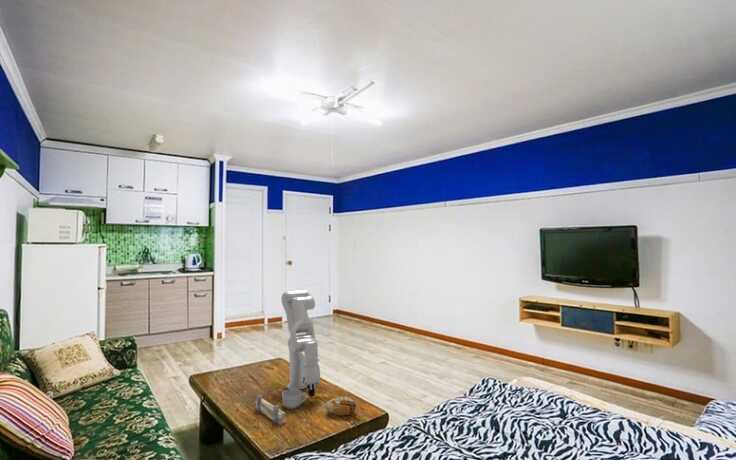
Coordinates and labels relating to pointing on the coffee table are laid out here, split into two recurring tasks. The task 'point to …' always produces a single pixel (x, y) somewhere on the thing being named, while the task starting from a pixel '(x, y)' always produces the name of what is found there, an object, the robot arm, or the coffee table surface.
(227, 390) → the coffee table surface
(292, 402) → the teacup
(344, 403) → the nautilus
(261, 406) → the bar
